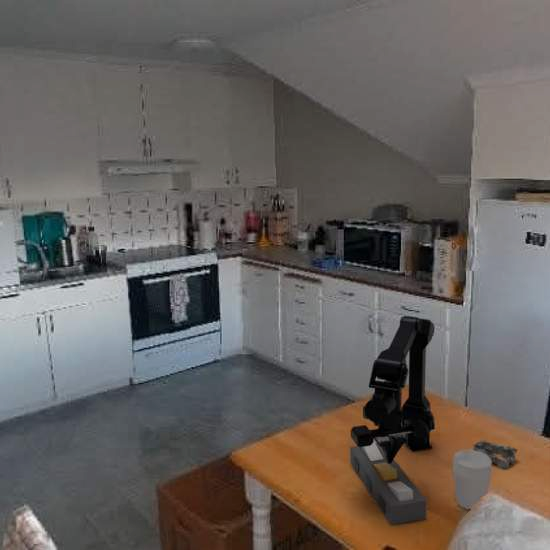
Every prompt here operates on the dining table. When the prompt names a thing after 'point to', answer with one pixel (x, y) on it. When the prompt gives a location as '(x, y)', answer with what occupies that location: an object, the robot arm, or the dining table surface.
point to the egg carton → (494, 448)
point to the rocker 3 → (400, 491)
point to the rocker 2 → (385, 471)
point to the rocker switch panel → (381, 492)
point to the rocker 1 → (372, 453)
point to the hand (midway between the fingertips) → (389, 462)
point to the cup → (471, 476)
